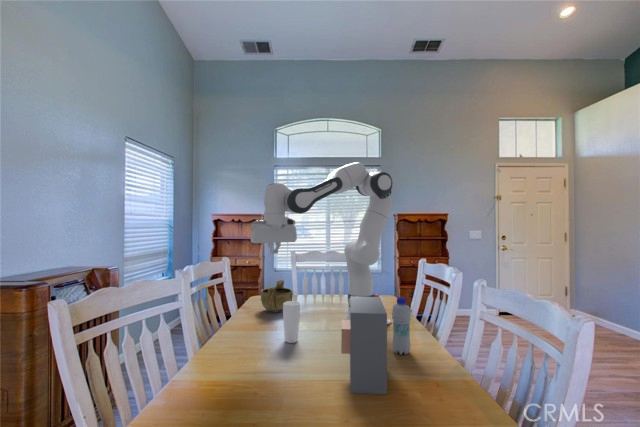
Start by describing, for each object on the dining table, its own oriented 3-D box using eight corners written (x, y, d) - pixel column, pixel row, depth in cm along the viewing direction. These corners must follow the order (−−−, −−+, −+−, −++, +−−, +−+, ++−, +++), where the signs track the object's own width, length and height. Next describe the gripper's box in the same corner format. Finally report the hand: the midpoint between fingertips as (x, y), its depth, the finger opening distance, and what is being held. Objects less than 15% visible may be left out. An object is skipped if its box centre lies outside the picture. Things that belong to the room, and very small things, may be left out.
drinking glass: (297, 345, 121) (297, 305, 122) (280, 343, 123) (280, 304, 123) (301, 338, 128) (301, 301, 128) (285, 337, 129) (286, 300, 130)
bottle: (411, 350, 117) (411, 296, 118) (410, 357, 111) (410, 300, 111) (392, 347, 119) (393, 294, 120) (390, 354, 113) (390, 298, 114)
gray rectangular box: (350, 392, 88) (350, 312, 88) (350, 361, 107) (350, 296, 108) (386, 394, 87) (386, 313, 87) (379, 362, 107) (379, 297, 107)
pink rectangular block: (341, 353, 93) (341, 328, 94) (342, 341, 103) (342, 319, 103) (358, 354, 93) (358, 329, 93) (357, 342, 102) (357, 320, 102)
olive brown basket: (267, 304, 180) (267, 278, 181) (296, 305, 178) (296, 279, 179) (254, 316, 158) (255, 286, 159) (287, 317, 156) (288, 287, 157)
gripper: (254, 220, 125) (254, 255, 124) (298, 221, 136) (298, 252, 136) (248, 220, 130) (247, 254, 130) (291, 221, 142) (291, 251, 141)
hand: (274, 253), depth 133 cm, fingers closed
